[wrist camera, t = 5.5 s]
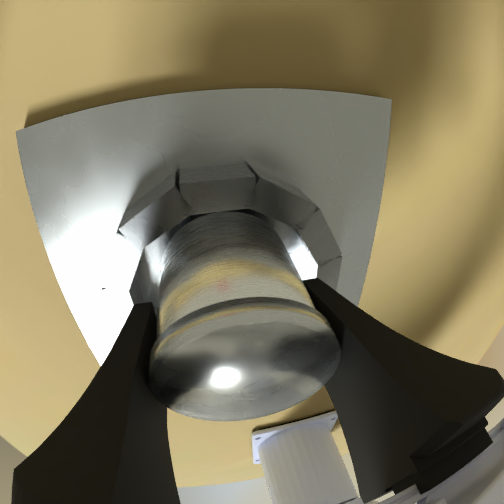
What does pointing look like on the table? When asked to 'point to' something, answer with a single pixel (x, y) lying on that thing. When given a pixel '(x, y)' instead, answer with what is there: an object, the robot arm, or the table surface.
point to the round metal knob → (236, 324)
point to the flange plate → (202, 187)
